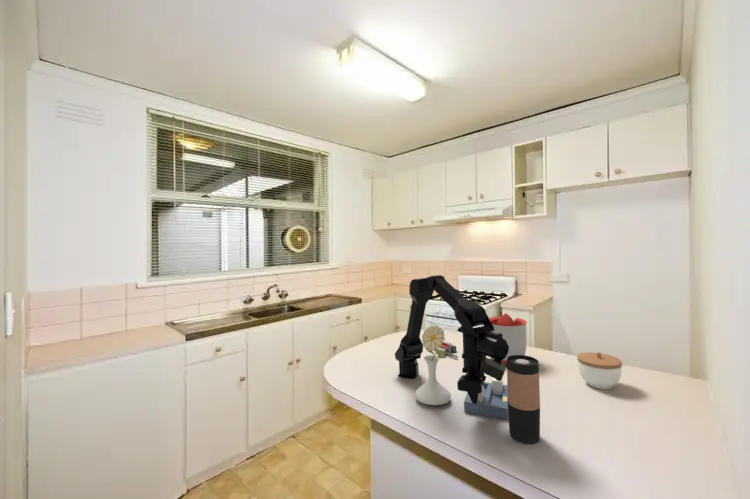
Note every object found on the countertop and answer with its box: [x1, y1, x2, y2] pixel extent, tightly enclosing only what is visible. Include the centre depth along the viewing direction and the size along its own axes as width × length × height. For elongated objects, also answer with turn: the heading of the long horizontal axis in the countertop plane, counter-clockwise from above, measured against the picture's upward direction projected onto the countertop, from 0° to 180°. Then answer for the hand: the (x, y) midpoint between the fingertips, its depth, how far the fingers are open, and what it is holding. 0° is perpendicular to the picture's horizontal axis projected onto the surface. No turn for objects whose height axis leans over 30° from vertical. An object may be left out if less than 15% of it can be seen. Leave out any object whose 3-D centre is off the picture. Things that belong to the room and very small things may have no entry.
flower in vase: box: [414, 325, 452, 406], centre depth 106 cm, size 13×11×25 cm
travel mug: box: [506, 354, 541, 445], centre depth 86 cm, size 8×8×20 cm
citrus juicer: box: [489, 312, 528, 366], centre depth 139 cm, size 16×17×20 cm
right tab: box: [491, 377, 504, 395], centre depth 107 cm, size 3×3×4 cm
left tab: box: [477, 386, 484, 403], centre depth 102 cm, size 3×3×4 cm
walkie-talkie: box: [433, 340, 459, 359], centre depth 152 cm, size 9×4×20 cm
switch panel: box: [463, 381, 509, 420], centre depth 104 cm, size 12×16×3 cm
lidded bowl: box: [576, 352, 623, 390], centre depth 113 cm, size 13×13×11 cm
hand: (474, 403), depth 96 cm, fingers closed
